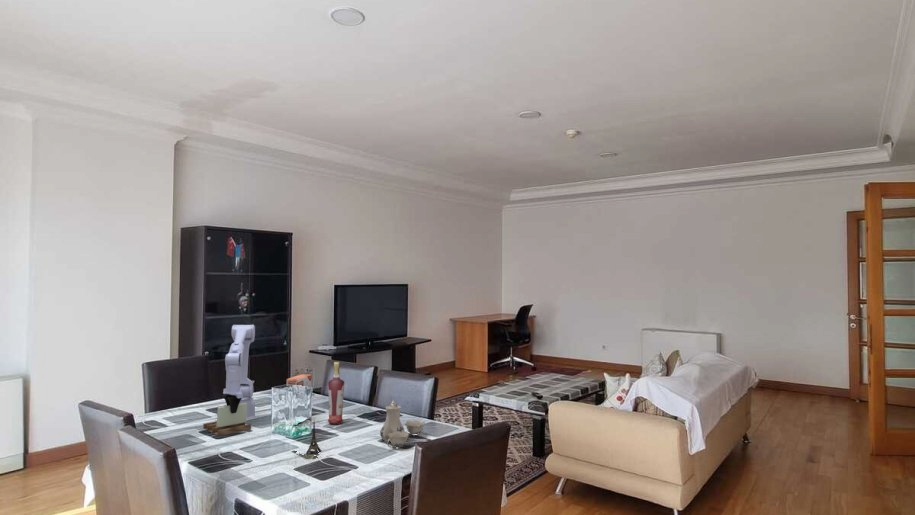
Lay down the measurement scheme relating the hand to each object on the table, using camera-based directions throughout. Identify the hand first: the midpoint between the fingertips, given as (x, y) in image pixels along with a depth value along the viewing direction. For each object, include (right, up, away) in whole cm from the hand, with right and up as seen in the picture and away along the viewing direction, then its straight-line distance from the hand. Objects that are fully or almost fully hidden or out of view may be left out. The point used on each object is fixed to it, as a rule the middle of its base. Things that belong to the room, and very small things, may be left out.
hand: (232, 412), depth 229 cm
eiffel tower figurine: (+41, -9, -26) cm, 50 cm away
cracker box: (+23, -10, +18) cm, 31 cm away
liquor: (+41, -10, +16) cm, 45 cm away
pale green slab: (0, -5, 0) cm, 5 cm away
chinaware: (+73, -10, -8) cm, 74 cm away
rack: (-4, -9, +3) cm, 10 cm away
